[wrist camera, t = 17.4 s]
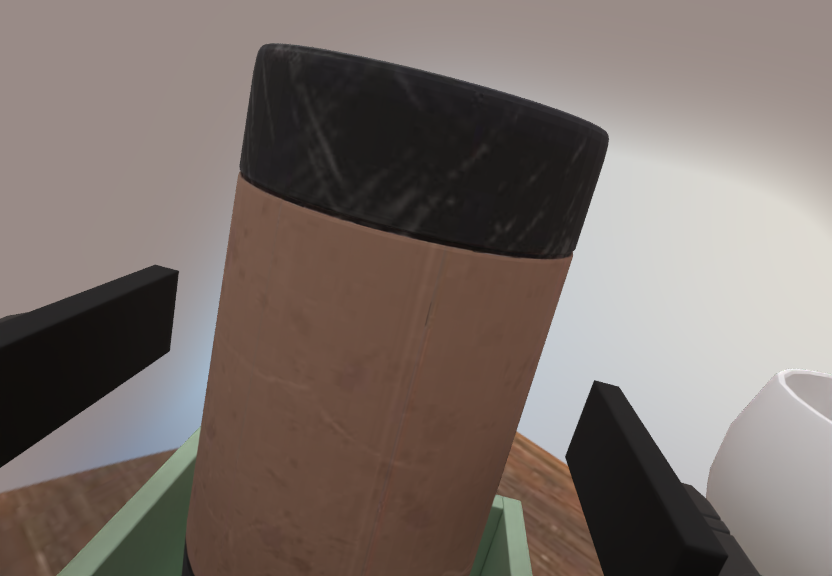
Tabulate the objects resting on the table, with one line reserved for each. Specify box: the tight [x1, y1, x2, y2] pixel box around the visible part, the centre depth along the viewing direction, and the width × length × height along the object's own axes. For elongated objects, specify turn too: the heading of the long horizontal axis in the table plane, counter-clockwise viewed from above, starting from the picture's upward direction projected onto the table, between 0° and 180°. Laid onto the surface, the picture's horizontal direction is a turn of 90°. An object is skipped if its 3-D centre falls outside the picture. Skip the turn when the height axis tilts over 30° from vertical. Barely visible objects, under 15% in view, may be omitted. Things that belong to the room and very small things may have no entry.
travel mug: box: [182, 43, 609, 576], centre depth 14 cm, size 8×8×20 cm
